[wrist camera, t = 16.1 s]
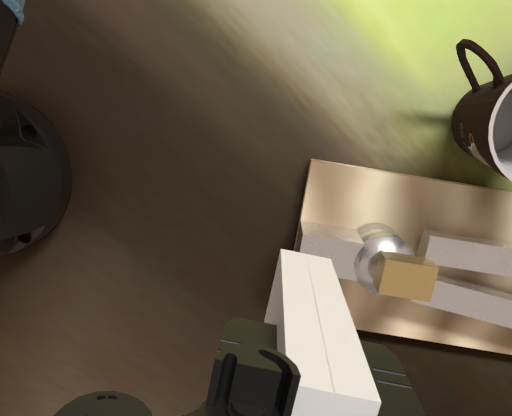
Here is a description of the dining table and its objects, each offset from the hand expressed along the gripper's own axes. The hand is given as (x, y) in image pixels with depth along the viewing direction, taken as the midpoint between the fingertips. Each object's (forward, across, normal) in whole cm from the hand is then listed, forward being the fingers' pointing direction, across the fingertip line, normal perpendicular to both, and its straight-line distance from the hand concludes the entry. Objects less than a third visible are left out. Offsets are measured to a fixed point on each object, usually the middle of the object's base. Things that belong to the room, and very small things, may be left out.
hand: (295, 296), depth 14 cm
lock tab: (+23, +11, -6) cm, 26 cm away
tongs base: (+27, +18, -5) cm, 33 cm away
